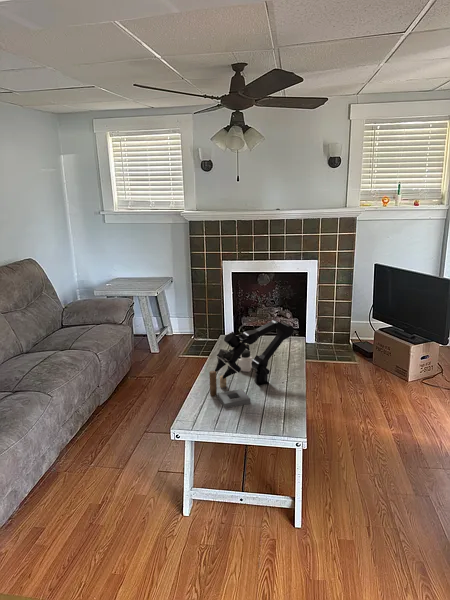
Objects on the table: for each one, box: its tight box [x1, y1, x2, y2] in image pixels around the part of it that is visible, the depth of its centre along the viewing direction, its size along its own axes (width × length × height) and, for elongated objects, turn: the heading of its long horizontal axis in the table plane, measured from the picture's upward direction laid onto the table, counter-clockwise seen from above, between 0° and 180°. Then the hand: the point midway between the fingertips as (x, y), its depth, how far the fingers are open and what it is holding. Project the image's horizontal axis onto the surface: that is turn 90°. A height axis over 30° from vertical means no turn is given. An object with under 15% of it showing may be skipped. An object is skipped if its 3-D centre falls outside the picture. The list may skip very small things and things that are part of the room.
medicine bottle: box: [237, 349, 253, 373], centre depth 257 cm, size 7×7×12 cm
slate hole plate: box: [216, 388, 251, 409], centre depth 221 cm, size 14×12×2 cm
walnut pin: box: [209, 370, 218, 397], centre depth 227 cm, size 4×4×13 cm
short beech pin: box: [219, 374, 227, 389], centre depth 236 cm, size 4×4×6 cm
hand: (219, 374), depth 227 cm, fingers open, 9 cm apart
